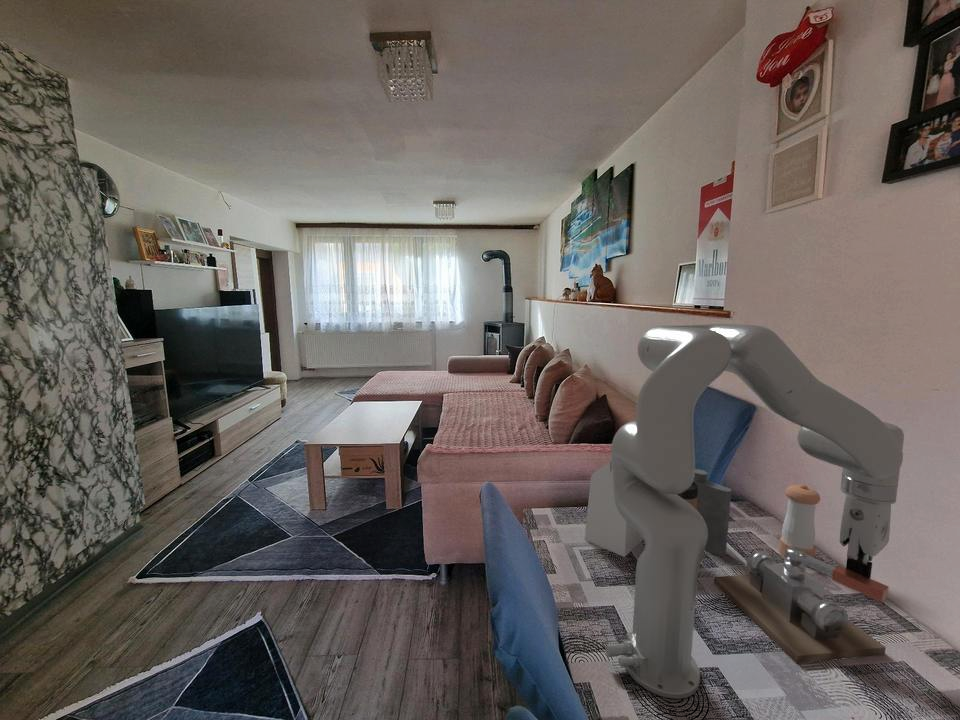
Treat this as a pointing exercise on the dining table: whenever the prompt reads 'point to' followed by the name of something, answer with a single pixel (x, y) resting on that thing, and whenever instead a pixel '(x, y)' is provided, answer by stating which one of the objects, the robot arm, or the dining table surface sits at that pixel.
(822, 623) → the valve body
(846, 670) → the dining table surface
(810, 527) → the salt shaker
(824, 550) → the dining table surface
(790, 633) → the walnut board
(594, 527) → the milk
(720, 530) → the hip flask
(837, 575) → the lever
